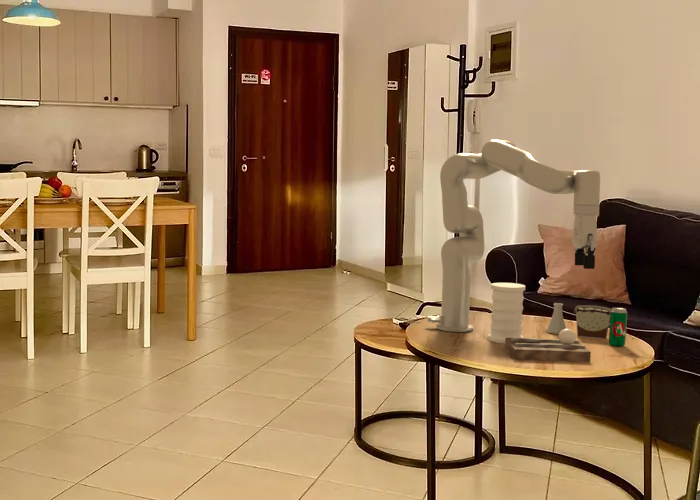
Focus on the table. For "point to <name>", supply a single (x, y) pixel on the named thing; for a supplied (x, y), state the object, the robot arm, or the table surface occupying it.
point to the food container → (592, 321)
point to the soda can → (617, 327)
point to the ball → (567, 337)
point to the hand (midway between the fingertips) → (584, 266)
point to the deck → (546, 350)
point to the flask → (556, 320)
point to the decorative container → (506, 311)
